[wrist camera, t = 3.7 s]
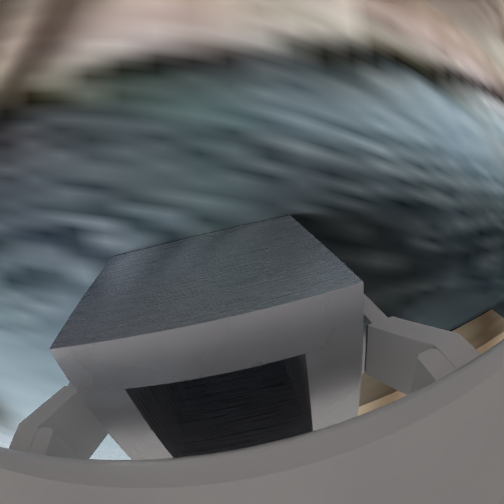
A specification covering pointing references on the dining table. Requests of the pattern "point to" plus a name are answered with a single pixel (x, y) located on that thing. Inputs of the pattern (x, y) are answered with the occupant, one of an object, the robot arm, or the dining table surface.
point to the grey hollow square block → (218, 342)
